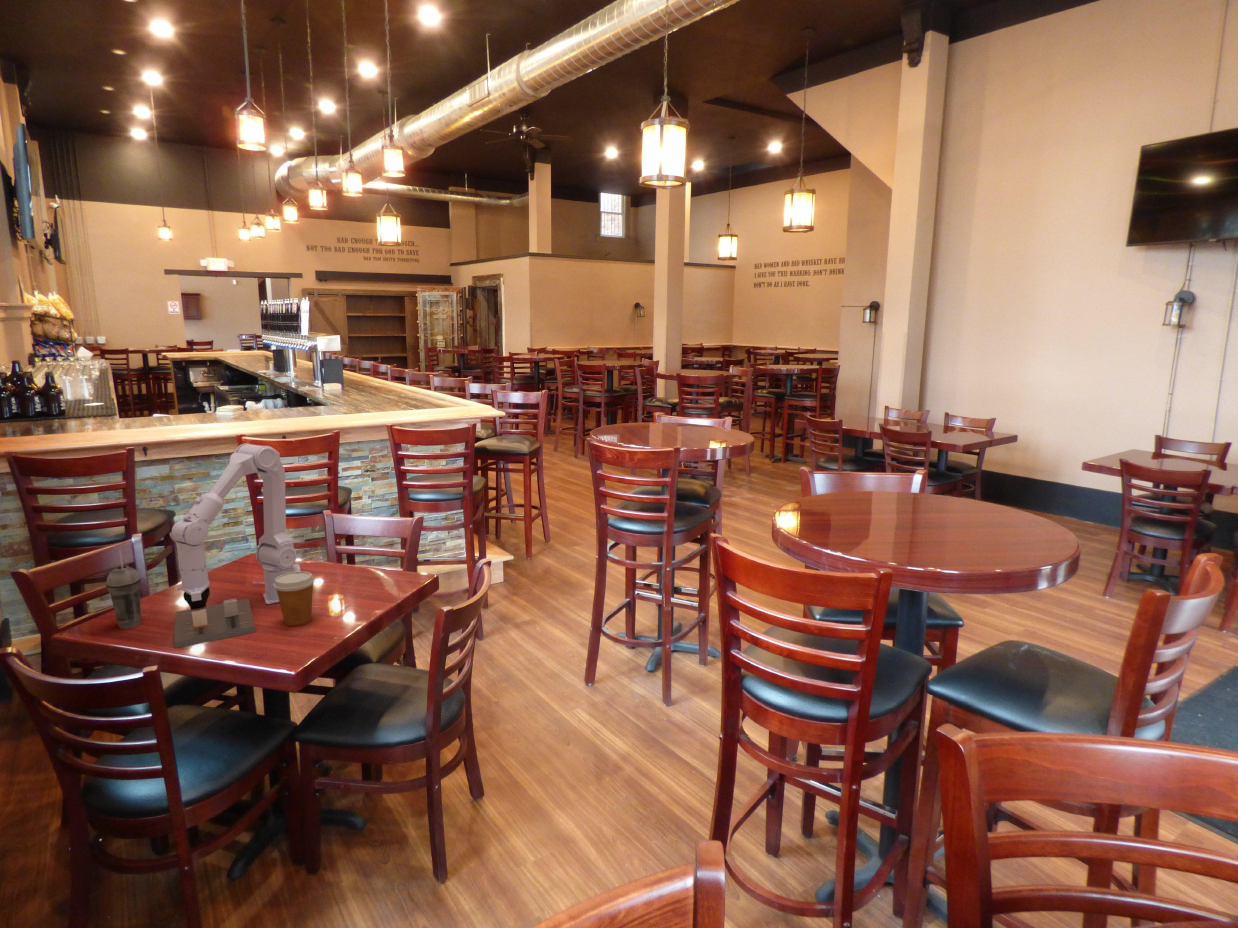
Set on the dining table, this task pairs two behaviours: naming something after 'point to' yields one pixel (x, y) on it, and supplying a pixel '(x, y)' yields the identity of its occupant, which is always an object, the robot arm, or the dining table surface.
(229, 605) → the fader cap grey
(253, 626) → the mixing console
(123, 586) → the beverage cup
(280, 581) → the disposable coffee cup
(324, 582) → the dining table surface
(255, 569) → the dining table surface
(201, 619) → the fader cap ivory
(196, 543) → the robot arm
